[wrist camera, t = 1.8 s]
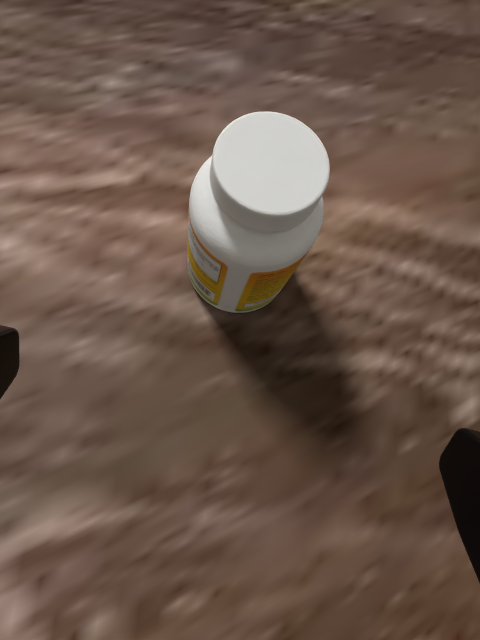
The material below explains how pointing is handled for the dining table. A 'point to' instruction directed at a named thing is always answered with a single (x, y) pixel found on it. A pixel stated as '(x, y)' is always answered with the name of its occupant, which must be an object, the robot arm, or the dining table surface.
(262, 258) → the supplement bottle
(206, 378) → the dining table surface
